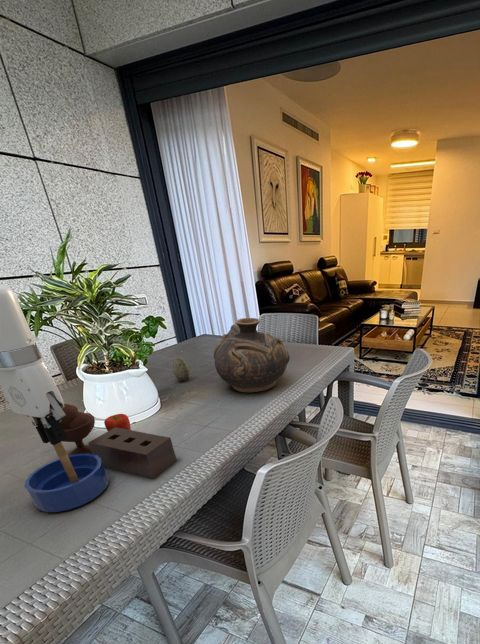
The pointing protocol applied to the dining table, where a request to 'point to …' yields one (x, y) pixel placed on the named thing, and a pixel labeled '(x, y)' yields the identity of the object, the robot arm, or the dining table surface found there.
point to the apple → (117, 422)
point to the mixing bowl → (67, 483)
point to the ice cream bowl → (77, 428)
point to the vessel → (250, 357)
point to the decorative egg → (181, 369)
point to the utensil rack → (134, 452)
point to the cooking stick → (65, 461)
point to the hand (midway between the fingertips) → (55, 440)
